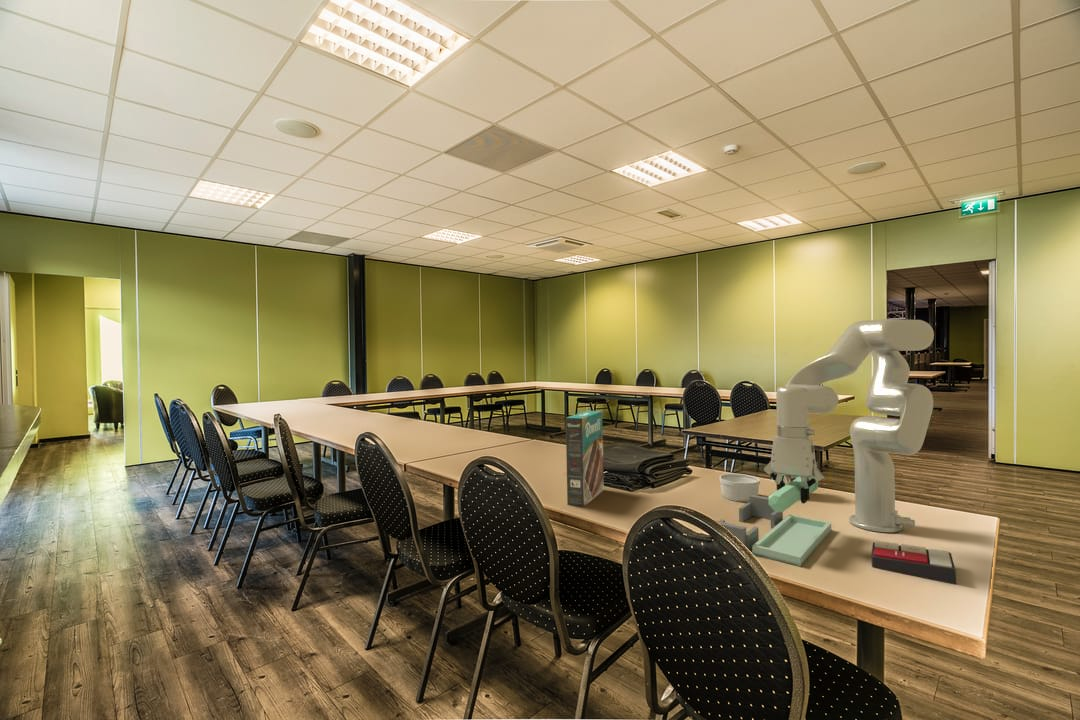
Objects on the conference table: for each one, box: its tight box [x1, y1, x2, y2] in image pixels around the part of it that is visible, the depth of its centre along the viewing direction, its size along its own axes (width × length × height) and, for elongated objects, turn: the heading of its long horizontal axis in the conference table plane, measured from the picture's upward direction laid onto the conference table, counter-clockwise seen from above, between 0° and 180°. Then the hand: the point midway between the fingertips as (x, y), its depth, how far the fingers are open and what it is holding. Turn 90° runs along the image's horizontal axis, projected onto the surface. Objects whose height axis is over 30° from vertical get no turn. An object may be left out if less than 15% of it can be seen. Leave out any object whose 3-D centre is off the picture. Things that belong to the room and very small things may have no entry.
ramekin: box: [719, 473, 761, 503], centre depth 168 cm, size 13×13×7 cm
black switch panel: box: [870, 540, 957, 585], centre depth 111 cm, size 11×4×15 cm
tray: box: [751, 514, 832, 568], centre depth 128 cm, size 11×31×2 cm, turn 137°
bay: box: [715, 495, 784, 551], centre depth 136 cm, size 10×32×6 cm, turn 137°
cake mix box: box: [565, 410, 605, 508], centre depth 172 cm, size 22×6×30 cm, turn 155°
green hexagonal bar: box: [768, 474, 819, 513], centre depth 127 cm, size 6×6×25 cm
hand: (793, 499), depth 127 cm, fingers closed on green hexagonal bar, 4 cm apart
